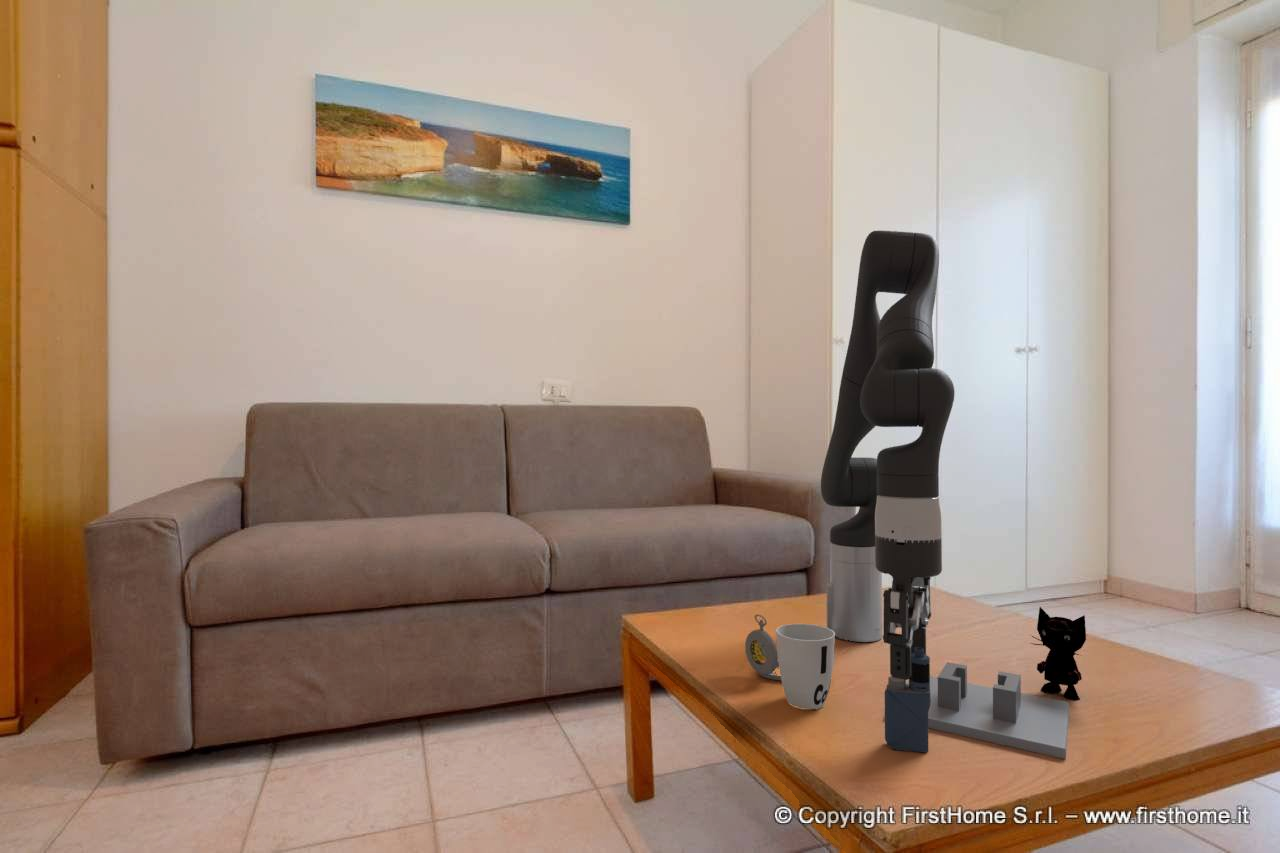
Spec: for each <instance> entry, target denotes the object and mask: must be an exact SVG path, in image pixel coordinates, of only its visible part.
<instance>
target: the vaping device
mask: <svg viewBox="0 0 1280 853" xmlns="http://www.w3.org/2000/svg"><path fill="white" fill-rule="evenodd" d="M930 662H931V658H930V656H929V655H927V654H926V655H924V649H923V648H919V647H916V648H915V653H912V654H911V673H912V675H911V677H910V678H909V679H908V681H909V685H907V682H906V681H907V680H904V679H899V678H894V677H892V676H891V675H890V676H888V678H887V684H886V688H885V690H884V740H885V742H886V746H887V747H889V748H890V749H891V748H893V749H892V750H894V749H896V750H895V751H902V750H906V751H905V752H913V751H917V753H928V752H929V728H928V711H929V708H930V702H931V699H930V691H931V690H930V676H931V673H930V672H931V665H930Z"/></svg>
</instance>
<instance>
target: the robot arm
mask: <svg viewBox="0 0 1280 853" xmlns="http://www.w3.org/2000/svg"><path fill="white" fill-rule="evenodd" d="M939 264H940V249H939V243H938V241H937V239H936V238H935V237H934V236H932V235H931V234H927V233H923V232H922V233H921V232H912V231H910V232H909V231H897V230H896V231H895V230H894V231H893V230H872V231H871V232H869V233H868V235H867V236H866V238H865V240H864V243H863V247H862V250H861V255H860V261H859V267H858V276H857V285H856V293H855V301H854V309H853V317H852V325H851V330H850V331H851V332H850V335H849V341H848V347H847V351H846V353H845V354H846V355H845V358H844V364H843V367H842V374H841V379H840V385H839V392H838V399H837V405H836V411H835V418H834V423H833V430H832V433H831V437H830V441H829V444H828V448H827V450H826V455H825V459H824V462H823V466H822V471H821V477H820V493H821V497H822V499H823V501H824V503H826V505H828V506H831V507H838V508H839V507H841V508H843V507H845V508H851V507H852V508H859V509H858V512H857V513H856V514H855V515H854V516H853V517H851V518H850V519H847V520H845V521H843V522H841V523H838V524H835V525H833V526H832V527H831V529H830V531H829V565H830V566H829V568H830V570H829V572H830V575H829V578H830V579H829V580H830V581H829V582H827V583H826V628H829V629H831V630H832V631H834V632H835V636H836V637H835V638H837V637H838V638H837V639H840V640H843V639H844V640H843V641H848V640H849V642H857V643H859V642H860V643H869V642H877V641H880V640H883V643H885V644H888V645H889V659H890V660H889V669H890V670H889V672H890V673H889V674H890V677H891V676H892V677H894V678H899V679H904V680H906V681H909V678H910V677H911V675H912V673H911V654H912V653H915V648H916V647H919V648H923V649H924V655H927V628H928V626H929V625H930V624H929V623H930V622H929V620H930V619H931V617H932V611H931V578H934V577H937V576H939V575H940V574H941V573H942V570H943V558H942V555H943V554H942V553H943V551H942V550H943V549H942V547H943V545H942V540H943V539H942V538H943V537H942V535H943V534H942V514H941V513H942V512H941V511H942V510H941V506H940V497H939V495H940V491H939V490H940V489H939V488H940V486H939V482H940V481H939V480H940V478H939V474H940V473H939V470H940V469H939V466H940V463H939V462H940V455H941V454H940V453H941V448H942V443H943V439H944V434H945V432H946V427H947V424H948V421H949V418H950V415H951V413H952V408H953V405H954V402H955V387H954V386H955V385H954V383H953V381H952V379H951V377H950V376H949V375H948V374H947V373H946V372H945V370H943V369H940V368H934V367H933V365H934V362H935V348H934V346H935V345H934V334H933V314H934V308H935V302H936V294H937V286H938V276H939ZM878 293H887V294H901V295H903V297H901V298H900V299H899V300H897V301H896V302H895V303H894V304H892V305H891V306H890V307H889V308H888V309H887V310H886V311H885V313H884V314H883V315H882V317H881V316H880V314H879V310H878V307H877V306H878V305H877V294H878ZM876 427H881V428H894V427H895V428H906V427H907V428H908V427H910V428H912V427H915V428H916V427H917V428H918V427H921V428H922V429H921V433H920V434H919V437H918V438H916V439H915V440H913V441H912V442H909V443H904V444H901V445H894V446H890V447H886V448H883V449H881V450H880V451H879V452H878V453H877V456H876V458H875V457H853V455H854V452H855V450H856V448H857V447H858V445H859V444H860V443H861V442H862V440H863V439H864V438H865V437H866V436H867V435H868V434H869V433H870V432H871V431H872V430H873V429H874V428H876ZM883 574H885V575H886V574H887V575H890V576H891V578H892V581H891V583H892V584H891V587H888V589H885V590H884V591H883ZM897 628H900V629H901V633H896V629H897Z"/></svg>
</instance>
